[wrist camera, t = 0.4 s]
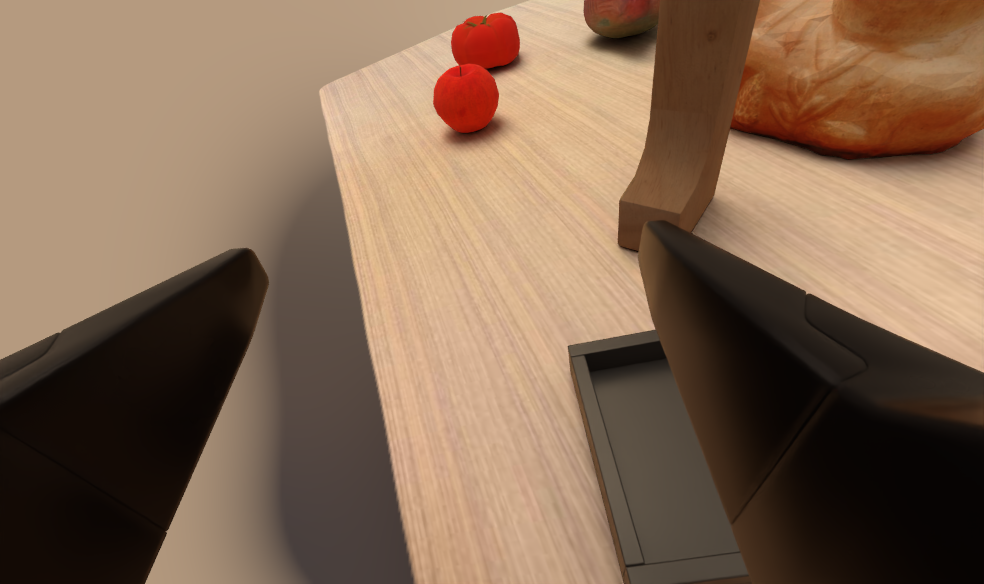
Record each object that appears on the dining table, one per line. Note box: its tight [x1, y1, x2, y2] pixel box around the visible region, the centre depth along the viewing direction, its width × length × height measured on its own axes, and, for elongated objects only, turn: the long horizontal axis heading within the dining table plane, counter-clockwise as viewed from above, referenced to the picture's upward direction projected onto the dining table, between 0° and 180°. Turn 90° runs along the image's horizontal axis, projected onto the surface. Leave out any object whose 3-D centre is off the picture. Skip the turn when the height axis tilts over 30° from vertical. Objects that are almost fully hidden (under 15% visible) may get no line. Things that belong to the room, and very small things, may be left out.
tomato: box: [451, 13, 520, 69], centre depth 64 cm, size 10×11×6 cm
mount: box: [568, 330, 752, 584], centre depth 20 cm, size 12×9×3 cm
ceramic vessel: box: [730, 0, 984, 160], centre depth 34 cm, size 14×26×15 cm, turn 37°
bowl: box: [584, 0, 660, 38], centre depth 59 cm, size 16×13×8 cm
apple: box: [433, 64, 499, 133], centre depth 49 cm, size 8×8×7 cm
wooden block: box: [618, 0, 760, 251], centre depth 27 cm, size 9×4×18 cm, turn 143°
